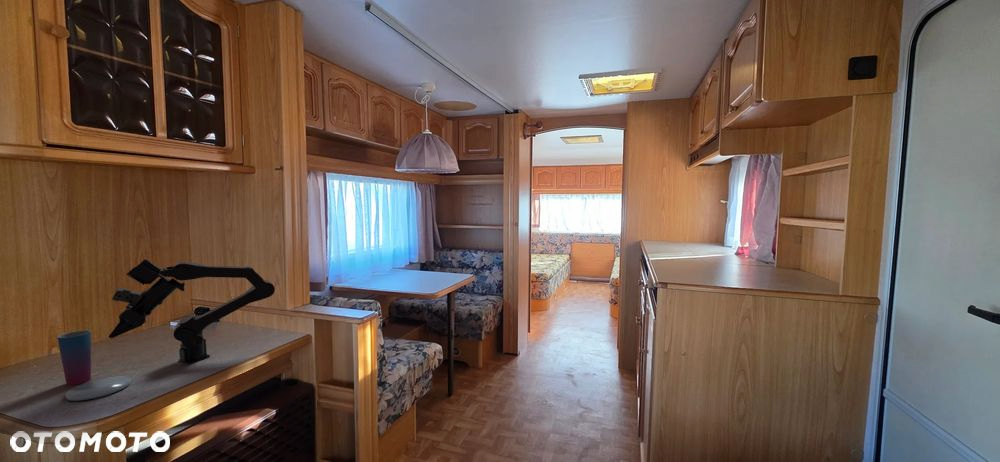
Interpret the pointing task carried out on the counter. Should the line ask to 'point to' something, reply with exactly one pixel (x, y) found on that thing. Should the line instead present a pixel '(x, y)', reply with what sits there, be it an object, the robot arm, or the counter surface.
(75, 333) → the cup
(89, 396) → the saucer
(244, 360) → the counter surface
